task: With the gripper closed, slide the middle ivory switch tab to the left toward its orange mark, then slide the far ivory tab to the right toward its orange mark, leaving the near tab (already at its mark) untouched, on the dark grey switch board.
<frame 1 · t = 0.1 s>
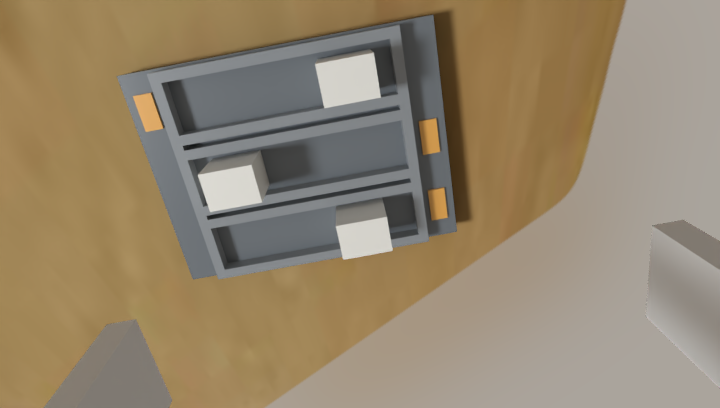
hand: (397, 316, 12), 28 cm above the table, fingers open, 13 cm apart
tab c: (363, 227, 37), point 4 cm above the table, slide at 10.0 cm
tab b: (236, 180, 35), point 4 cm above the table, slide at 1.0 cm
tab a: (347, 77, 33), point 4 cm above the table, slide at 11.0 cm
switch board: (302, 155, 39), on the table
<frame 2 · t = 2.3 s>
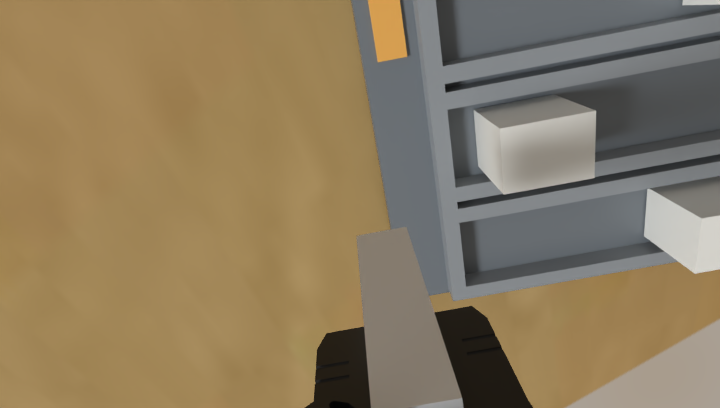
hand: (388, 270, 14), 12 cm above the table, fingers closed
tab c: (709, 221, 23), point 4 cm above the table, slide at 10.0 cm
tab b: (530, 141, 21), point 4 cm above the table, slide at 1.0 cm
switch board: (597, 106, 24), on the table
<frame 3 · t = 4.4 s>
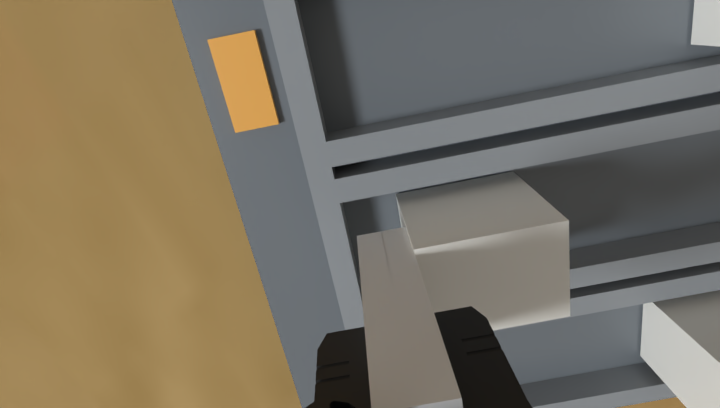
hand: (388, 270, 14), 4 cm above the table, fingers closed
tab b: (474, 249, 14), point 4 cm above the table, slide at 1.3 cm, touching gripper
switch board: (570, 181, 17), on the table
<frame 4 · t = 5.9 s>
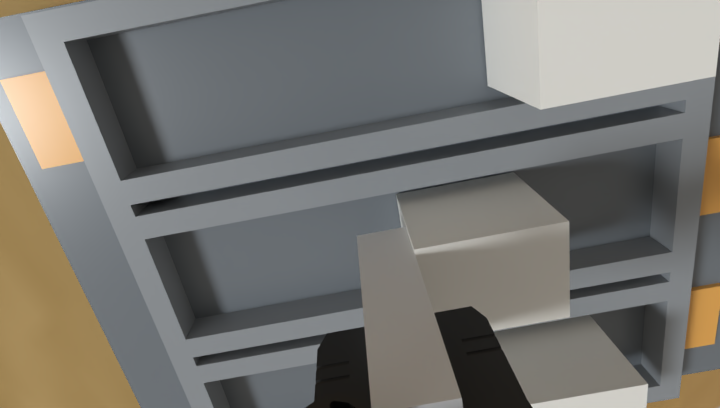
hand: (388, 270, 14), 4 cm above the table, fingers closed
tab c: (554, 383, 16), point 4 cm above the table, slide at 10.0 cm
tab b: (474, 249, 14), point 4 cm above the table, slide at 7.6 cm, touching gripper
tab a: (584, 22, 12), point 4 cm above the table, slide at 11.0 cm
switch board: (406, 213, 17), on the table
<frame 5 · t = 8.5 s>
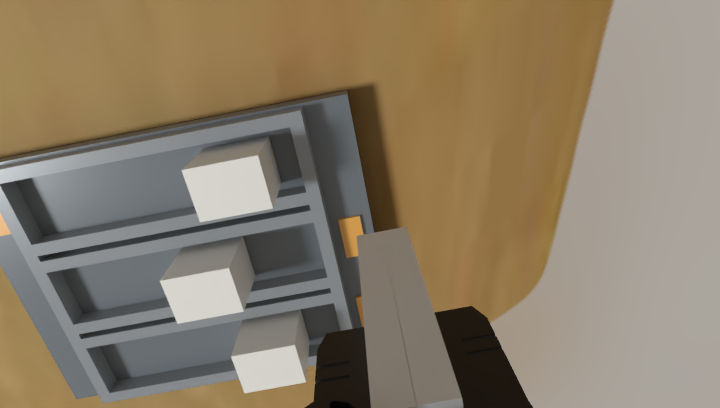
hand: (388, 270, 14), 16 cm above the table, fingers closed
tab c: (273, 348, 30), point 4 cm above the table, slide at 10.0 cm
tab b: (211, 278, 28), point 4 cm above the table, slide at 7.7 cm
tab a: (236, 177, 26), point 4 cm above the table, slide at 11.0 cm
switch board: (201, 254, 31), on the table
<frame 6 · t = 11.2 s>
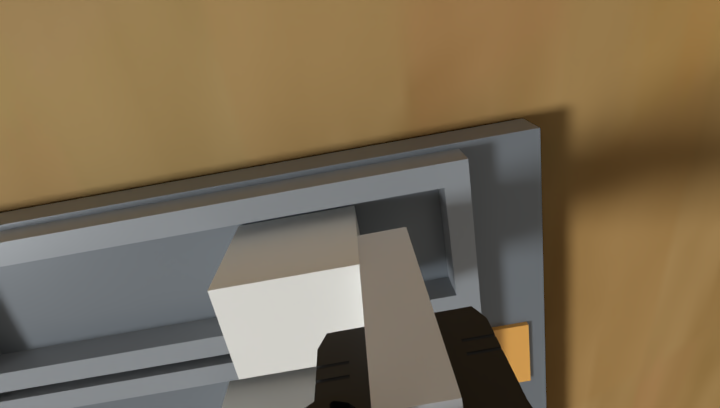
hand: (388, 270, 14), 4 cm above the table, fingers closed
tab a: (301, 284, 14), point 4 cm above the table, slide at 9.6 cm, touching gripper
switch board: (257, 370, 20), on the table
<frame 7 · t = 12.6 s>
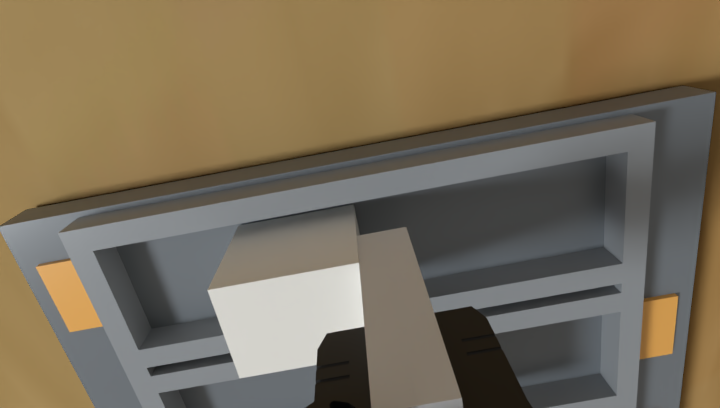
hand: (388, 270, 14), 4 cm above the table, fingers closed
tab a: (301, 283, 14), point 4 cm above the table, slide at 3.9 cm, touching gripper
switch board: (387, 346, 20), on the table
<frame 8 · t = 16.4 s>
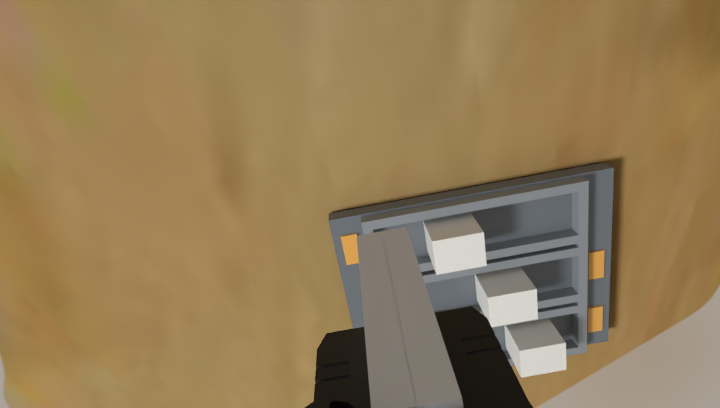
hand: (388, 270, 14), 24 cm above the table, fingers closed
tab c: (534, 345, 41), point 4 cm above the table, slide at 10.0 cm
tab b: (505, 294, 39), point 4 cm above the table, slide at 7.7 cm
tab a: (453, 242, 37), point 4 cm above the table, slide at 3.8 cm
switch board: (474, 276, 43), on the table
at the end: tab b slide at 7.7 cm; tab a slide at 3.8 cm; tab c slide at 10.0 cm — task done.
